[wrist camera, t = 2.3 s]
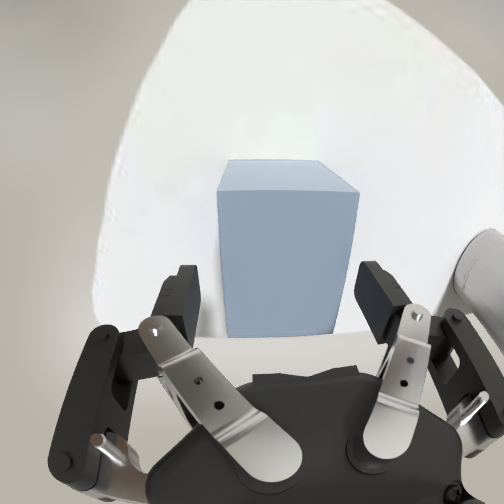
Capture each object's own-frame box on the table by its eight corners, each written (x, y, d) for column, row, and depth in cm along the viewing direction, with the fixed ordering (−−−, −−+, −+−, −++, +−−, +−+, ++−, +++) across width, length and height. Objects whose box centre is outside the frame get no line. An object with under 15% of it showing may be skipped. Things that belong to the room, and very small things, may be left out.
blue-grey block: (228, 160, 19) (216, 190, 12) (318, 160, 19) (359, 192, 12) (233, 266, 23) (227, 337, 16) (309, 265, 23) (332, 333, 16)
